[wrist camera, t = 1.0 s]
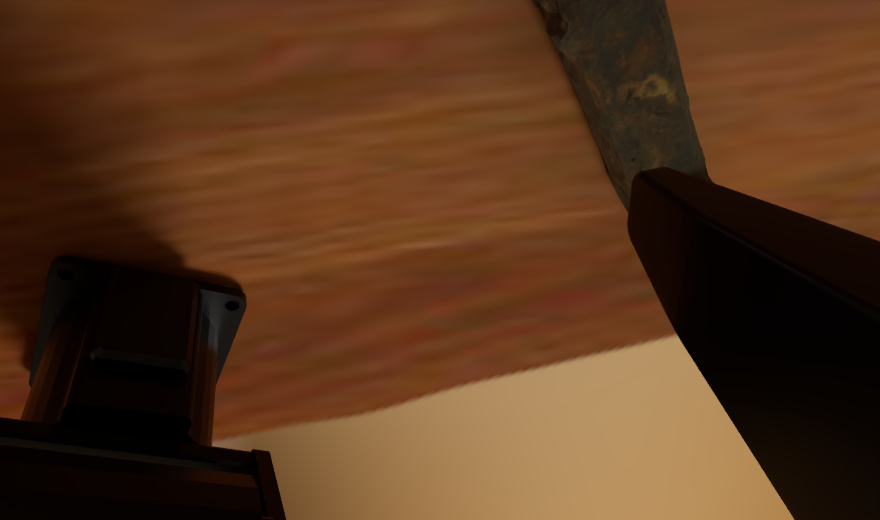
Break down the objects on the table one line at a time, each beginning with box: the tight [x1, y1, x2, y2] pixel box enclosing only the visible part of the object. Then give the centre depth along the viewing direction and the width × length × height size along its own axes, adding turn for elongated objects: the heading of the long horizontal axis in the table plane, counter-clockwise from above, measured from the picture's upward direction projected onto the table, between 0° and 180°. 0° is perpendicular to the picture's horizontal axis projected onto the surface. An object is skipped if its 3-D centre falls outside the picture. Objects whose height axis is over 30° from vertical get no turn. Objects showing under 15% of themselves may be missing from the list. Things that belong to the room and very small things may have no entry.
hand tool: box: [533, 0, 715, 212], centre depth 20 cm, size 19×4×5 cm, turn 25°
